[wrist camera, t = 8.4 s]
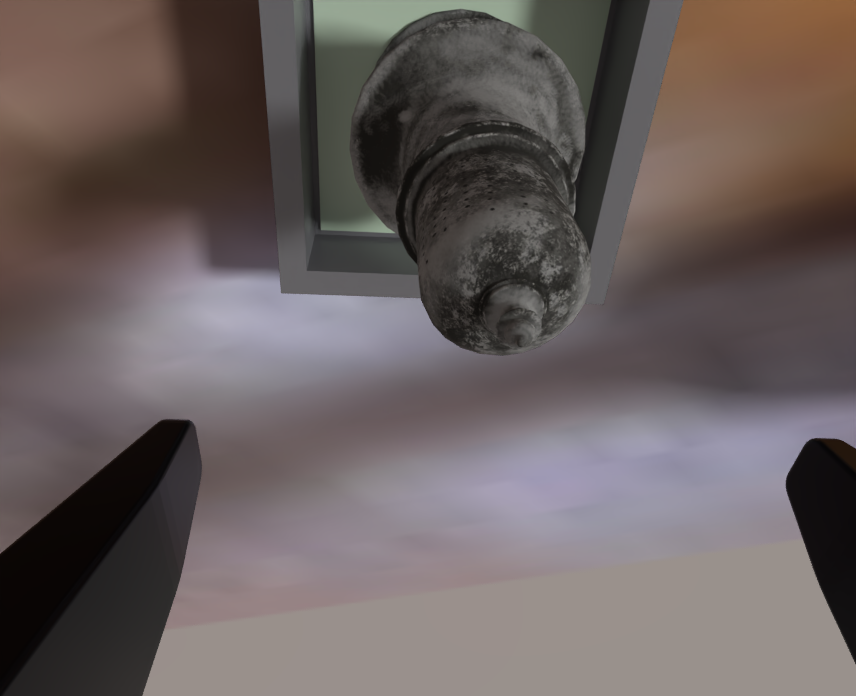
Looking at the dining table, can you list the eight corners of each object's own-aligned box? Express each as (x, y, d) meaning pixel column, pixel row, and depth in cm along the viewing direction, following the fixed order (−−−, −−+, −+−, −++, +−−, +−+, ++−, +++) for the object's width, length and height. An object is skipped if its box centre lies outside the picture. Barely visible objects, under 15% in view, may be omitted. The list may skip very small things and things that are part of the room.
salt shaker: (586, 145, 20) (775, 397, 10) (419, 235, 21) (440, 530, 11) (504, -51, 17) (659, 33, 7) (315, 70, 18) (222, 280, 8)
